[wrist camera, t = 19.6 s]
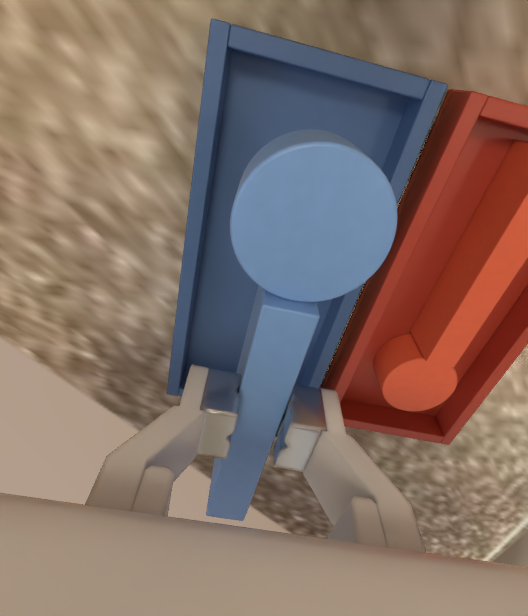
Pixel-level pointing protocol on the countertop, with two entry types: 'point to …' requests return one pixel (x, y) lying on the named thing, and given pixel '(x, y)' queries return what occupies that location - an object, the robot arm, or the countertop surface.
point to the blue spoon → (294, 278)
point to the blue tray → (242, 148)
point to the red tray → (436, 274)
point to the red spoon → (461, 293)
